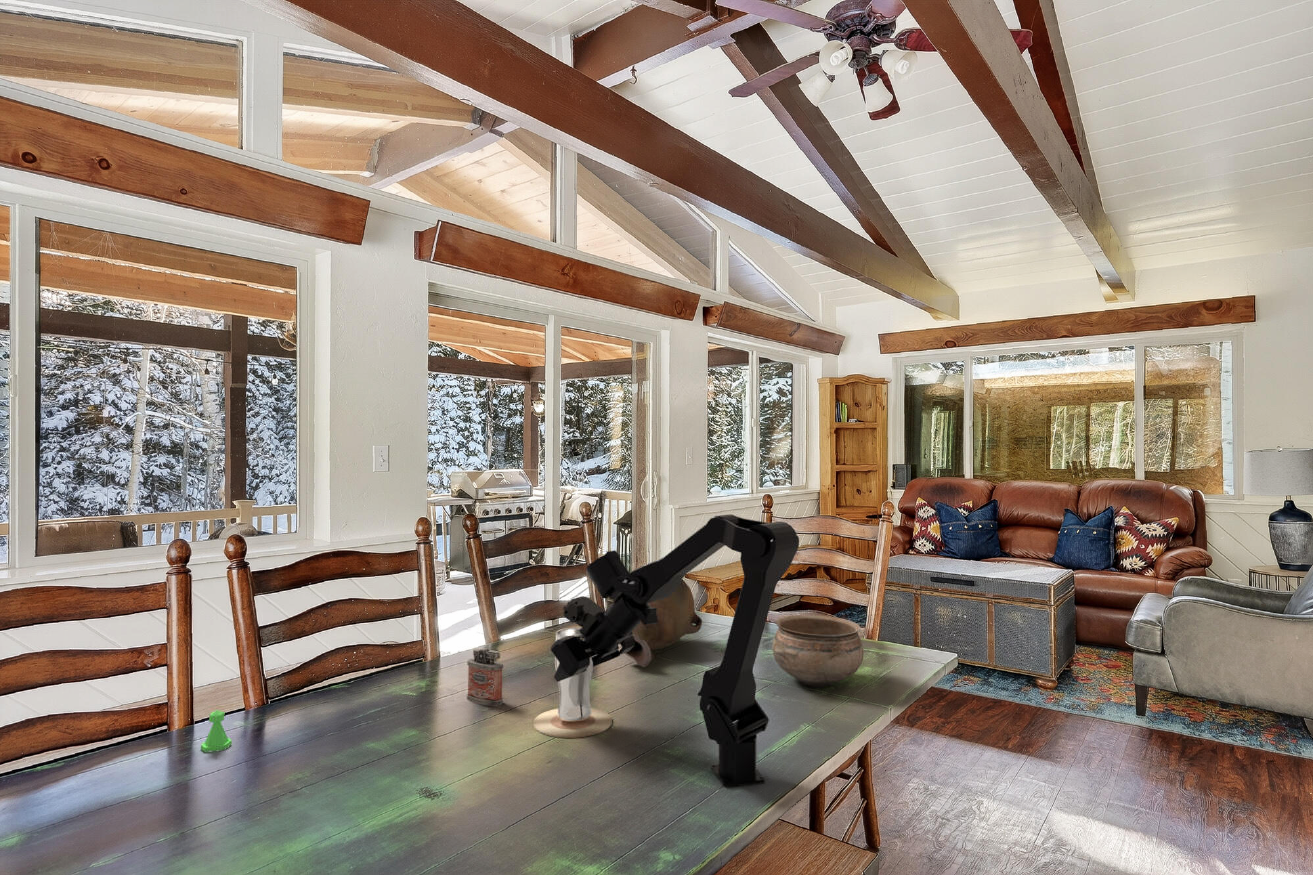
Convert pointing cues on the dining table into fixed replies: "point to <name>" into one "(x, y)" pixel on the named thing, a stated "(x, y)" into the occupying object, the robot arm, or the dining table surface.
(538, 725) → the coaster
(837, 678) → the cooking pot
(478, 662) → the lighter
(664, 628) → the jug
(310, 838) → the dining table surface
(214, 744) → the game piece
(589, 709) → the silver tall cup
